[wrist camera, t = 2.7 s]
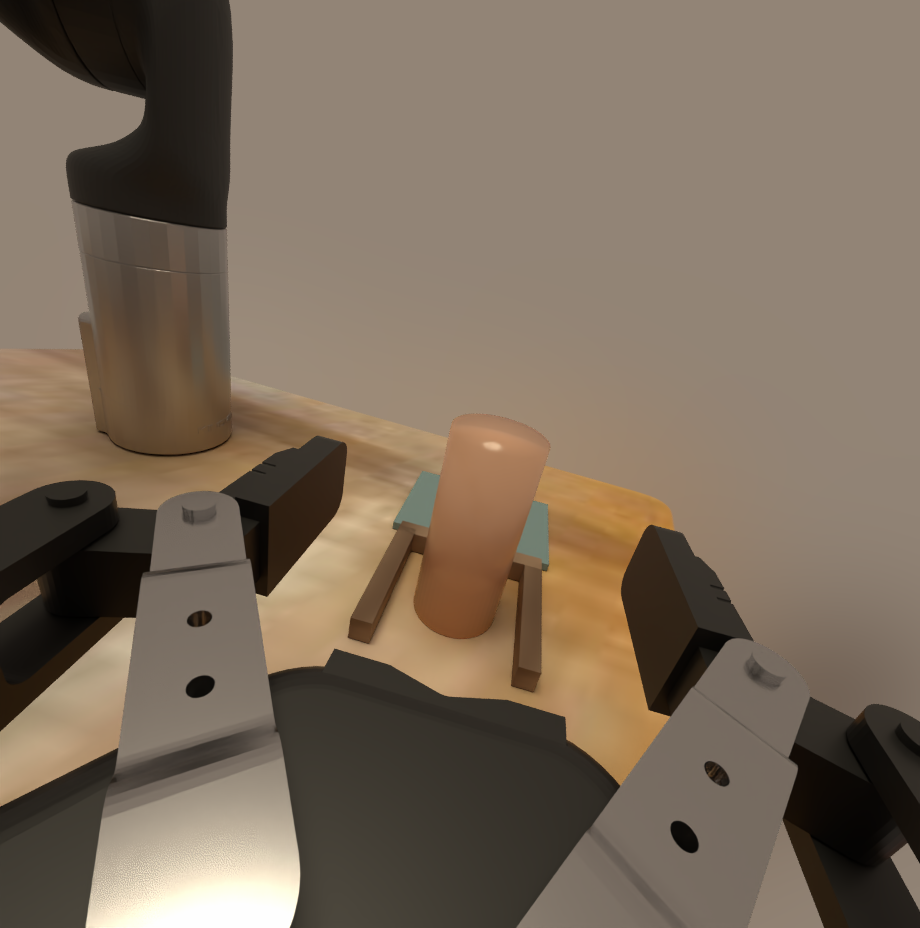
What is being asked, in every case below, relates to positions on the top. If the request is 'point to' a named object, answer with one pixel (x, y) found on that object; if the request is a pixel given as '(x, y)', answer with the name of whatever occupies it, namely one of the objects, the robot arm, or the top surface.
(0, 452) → the top surface
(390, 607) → the top surface
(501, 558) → the tall tan cylinder
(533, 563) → the holder
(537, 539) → the mat
